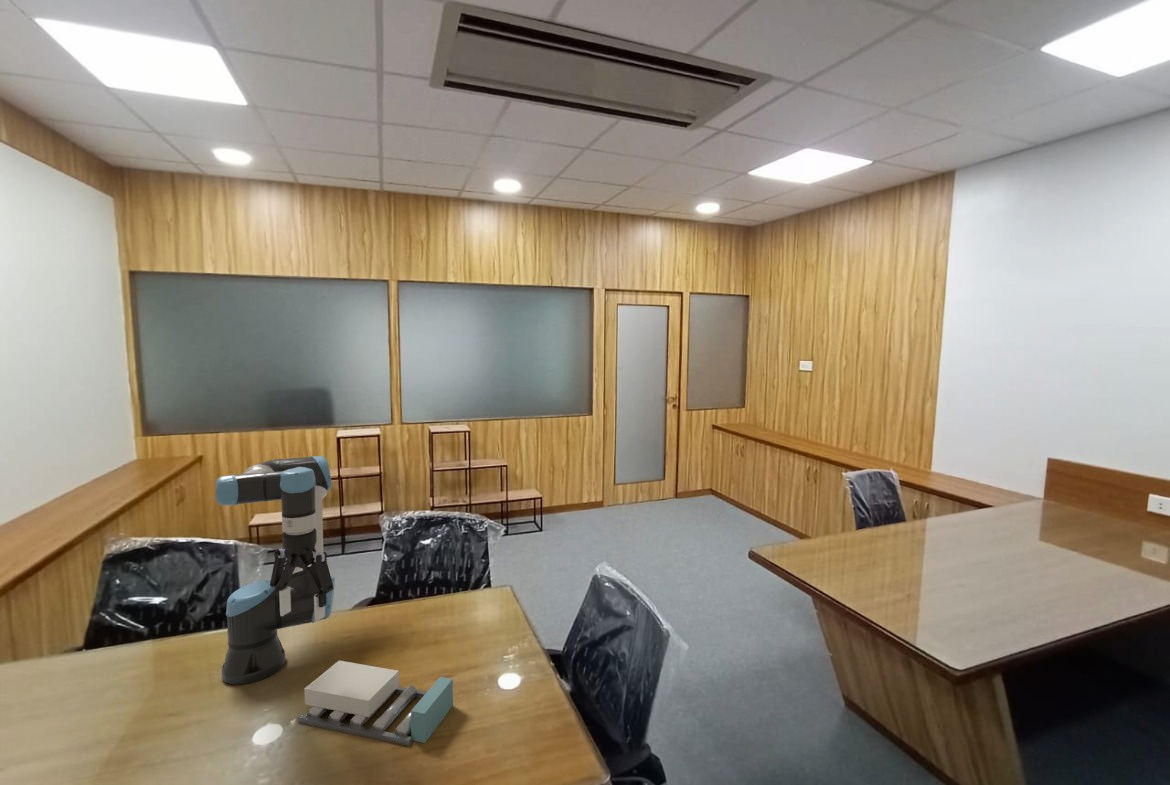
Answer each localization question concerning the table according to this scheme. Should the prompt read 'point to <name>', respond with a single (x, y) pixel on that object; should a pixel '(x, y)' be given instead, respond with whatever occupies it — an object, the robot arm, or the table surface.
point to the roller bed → (359, 720)
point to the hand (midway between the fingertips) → (302, 615)
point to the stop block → (431, 709)
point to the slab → (352, 688)
